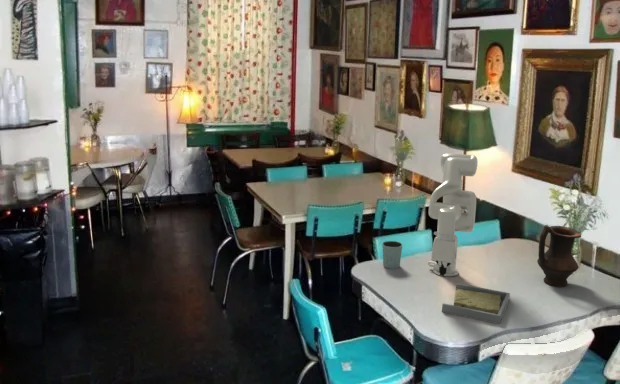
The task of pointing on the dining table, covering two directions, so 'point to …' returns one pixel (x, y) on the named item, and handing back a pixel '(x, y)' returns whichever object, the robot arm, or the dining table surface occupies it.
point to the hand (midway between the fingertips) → (442, 274)
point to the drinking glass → (391, 254)
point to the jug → (557, 254)
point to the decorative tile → (477, 301)
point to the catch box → (475, 313)
